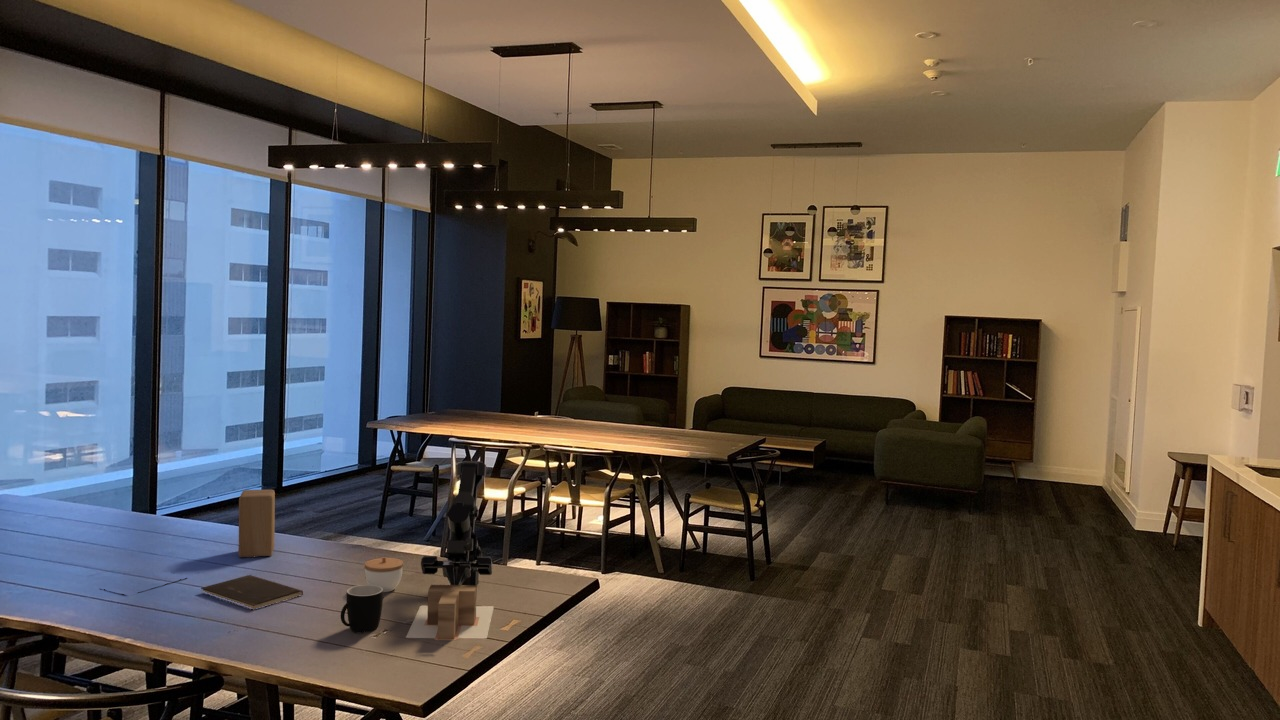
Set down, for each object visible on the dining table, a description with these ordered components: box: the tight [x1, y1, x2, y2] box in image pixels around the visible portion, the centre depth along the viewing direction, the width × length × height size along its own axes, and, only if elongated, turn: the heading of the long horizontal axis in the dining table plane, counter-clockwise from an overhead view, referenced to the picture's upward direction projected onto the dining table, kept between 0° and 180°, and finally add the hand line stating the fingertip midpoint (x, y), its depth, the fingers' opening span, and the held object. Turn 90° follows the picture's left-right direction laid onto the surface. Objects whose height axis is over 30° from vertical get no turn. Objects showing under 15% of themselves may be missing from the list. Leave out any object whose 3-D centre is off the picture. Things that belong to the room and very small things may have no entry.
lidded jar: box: [364, 556, 404, 593], centre depth 270 cm, size 11×11×9 cm
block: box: [238, 489, 276, 558], centre depth 299 cm, size 10×10×20 cm
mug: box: [340, 584, 384, 634], centre depth 237 cm, size 12×9×10 cm
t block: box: [427, 584, 478, 639], centre depth 240 cm, size 15×12×9 cm
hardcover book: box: [200, 574, 304, 609], centre depth 261 cm, size 16×23×2 cm
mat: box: [405, 605, 495, 641], centre depth 244 cm, size 25×20×1 cm
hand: (453, 594), depth 247 cm, fingers closed, pressing on t block
